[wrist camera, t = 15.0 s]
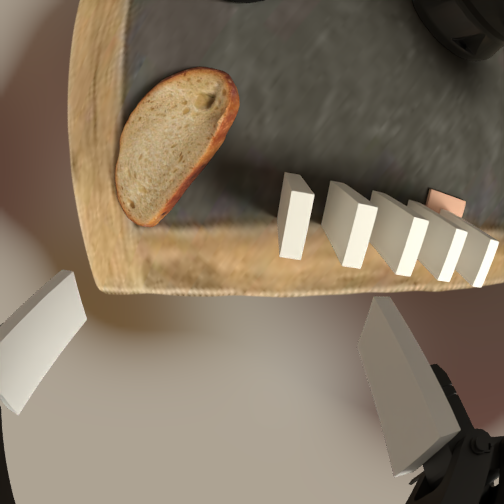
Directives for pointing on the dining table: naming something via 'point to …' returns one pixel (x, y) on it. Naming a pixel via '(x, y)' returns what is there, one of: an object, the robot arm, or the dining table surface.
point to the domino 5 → (473, 251)
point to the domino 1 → (293, 215)
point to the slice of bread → (172, 140)
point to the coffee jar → (247, 0)
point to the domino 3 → (397, 233)
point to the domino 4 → (439, 242)
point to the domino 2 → (348, 223)
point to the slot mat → (444, 203)
